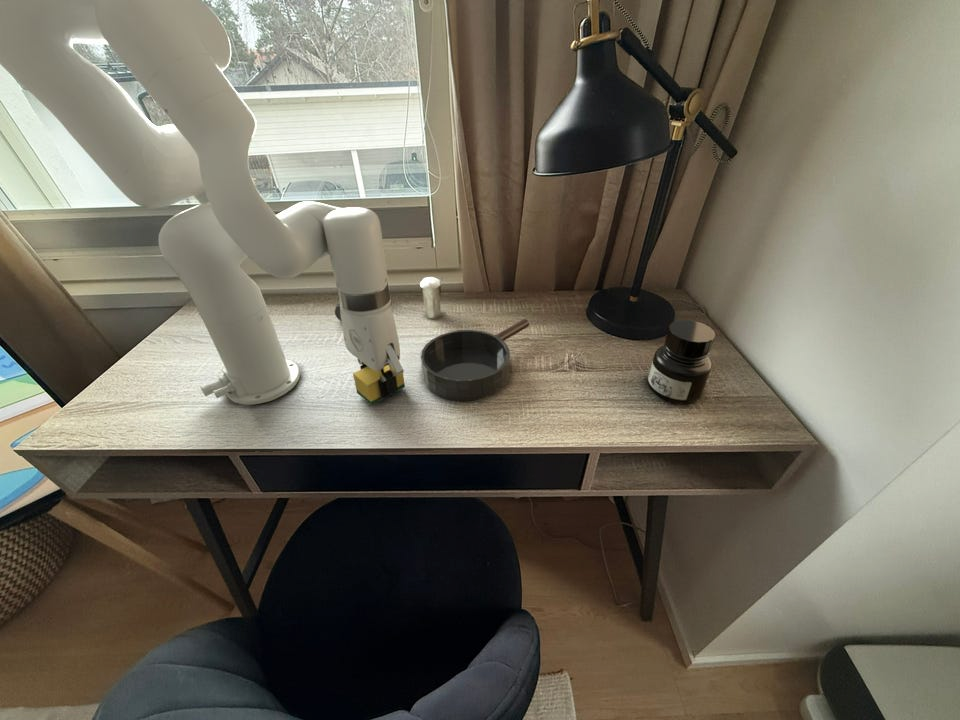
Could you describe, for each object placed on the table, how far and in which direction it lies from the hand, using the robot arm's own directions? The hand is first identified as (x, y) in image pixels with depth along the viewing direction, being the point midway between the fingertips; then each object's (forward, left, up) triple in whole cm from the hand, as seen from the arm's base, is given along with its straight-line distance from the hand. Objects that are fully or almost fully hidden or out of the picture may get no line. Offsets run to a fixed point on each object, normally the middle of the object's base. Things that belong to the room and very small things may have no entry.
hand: (380, 386), depth 74 cm
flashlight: (+15, +30, -2) cm, 34 cm away
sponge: (0, 0, -1) cm, 1 cm away
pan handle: (+27, -7, +1) cm, 28 cm away
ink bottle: (+36, -37, -2) cm, 52 cm away
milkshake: (+24, +14, -2) cm, 28 cm away
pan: (+14, -7, -1) cm, 16 cm away
